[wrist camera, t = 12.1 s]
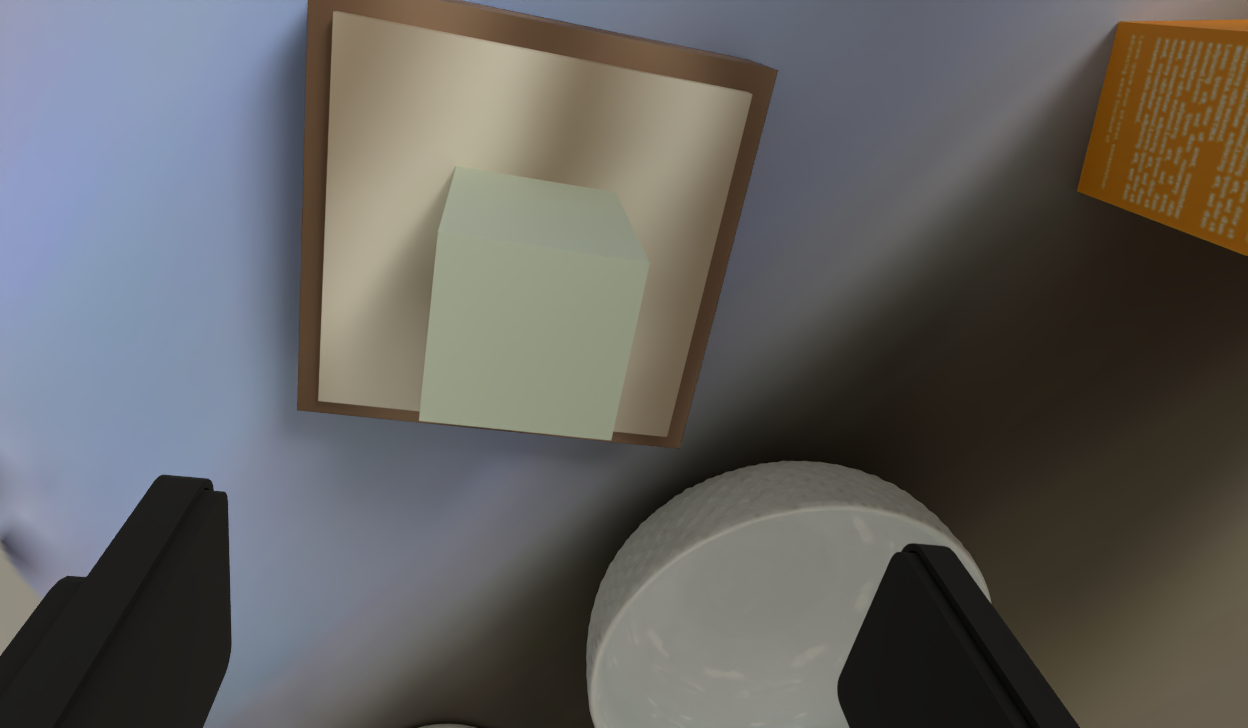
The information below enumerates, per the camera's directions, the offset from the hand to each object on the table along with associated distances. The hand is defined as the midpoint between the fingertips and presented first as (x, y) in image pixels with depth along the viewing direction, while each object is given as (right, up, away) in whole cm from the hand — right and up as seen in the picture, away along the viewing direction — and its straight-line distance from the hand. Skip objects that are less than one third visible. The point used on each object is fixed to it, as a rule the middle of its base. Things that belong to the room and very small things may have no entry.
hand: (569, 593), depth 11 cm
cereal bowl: (+7, -6, +27) cm, 29 cm away
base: (-3, +9, +18) cm, 20 cm away
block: (-2, +7, +15) cm, 16 cm away
